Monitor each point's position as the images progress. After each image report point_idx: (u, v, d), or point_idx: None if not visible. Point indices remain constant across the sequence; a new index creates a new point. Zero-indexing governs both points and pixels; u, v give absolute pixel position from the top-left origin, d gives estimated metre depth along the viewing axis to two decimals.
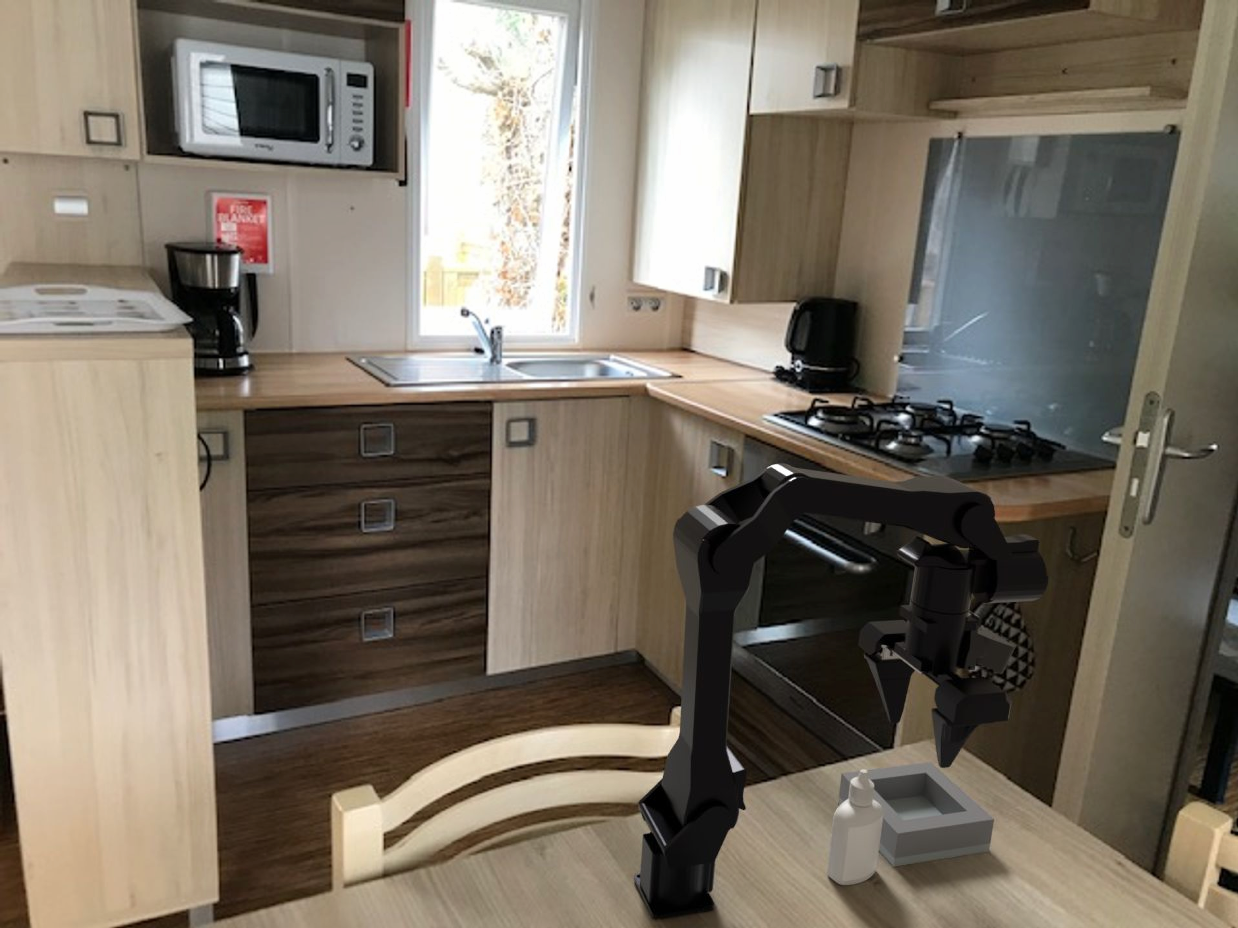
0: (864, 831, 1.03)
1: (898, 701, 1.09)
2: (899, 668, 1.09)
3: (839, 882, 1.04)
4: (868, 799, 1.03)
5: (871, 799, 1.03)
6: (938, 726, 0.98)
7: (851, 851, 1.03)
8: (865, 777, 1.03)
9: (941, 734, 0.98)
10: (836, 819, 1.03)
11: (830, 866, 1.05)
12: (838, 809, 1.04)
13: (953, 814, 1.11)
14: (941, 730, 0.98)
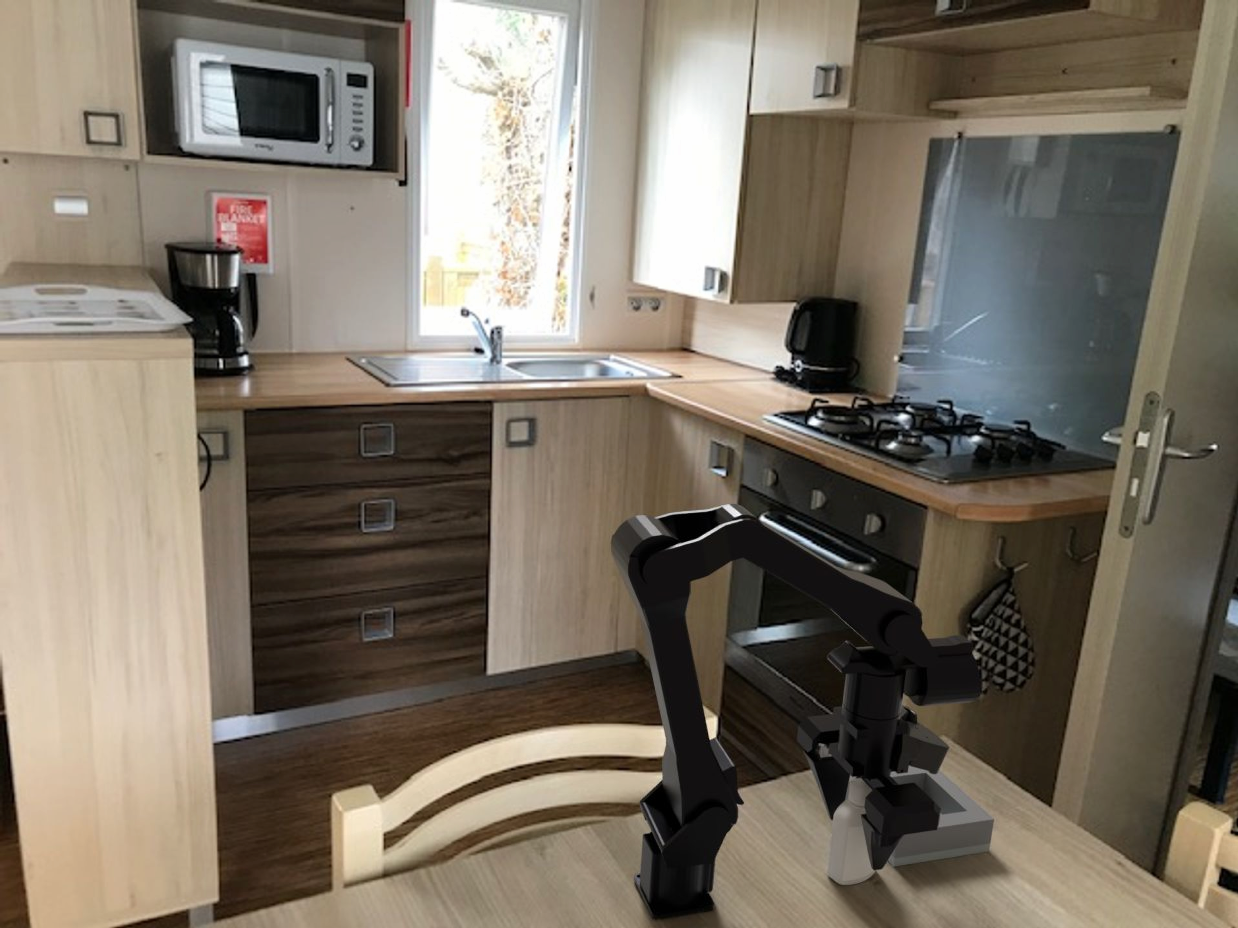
0: None
1: (838, 798, 1.09)
2: (838, 766, 1.08)
3: (839, 882, 1.04)
4: None
5: None
6: (868, 832, 0.98)
7: (851, 851, 1.03)
8: None
9: (870, 840, 0.98)
10: (836, 818, 1.03)
11: (830, 866, 1.05)
12: (838, 809, 1.04)
13: (953, 814, 1.11)
14: (870, 836, 0.98)
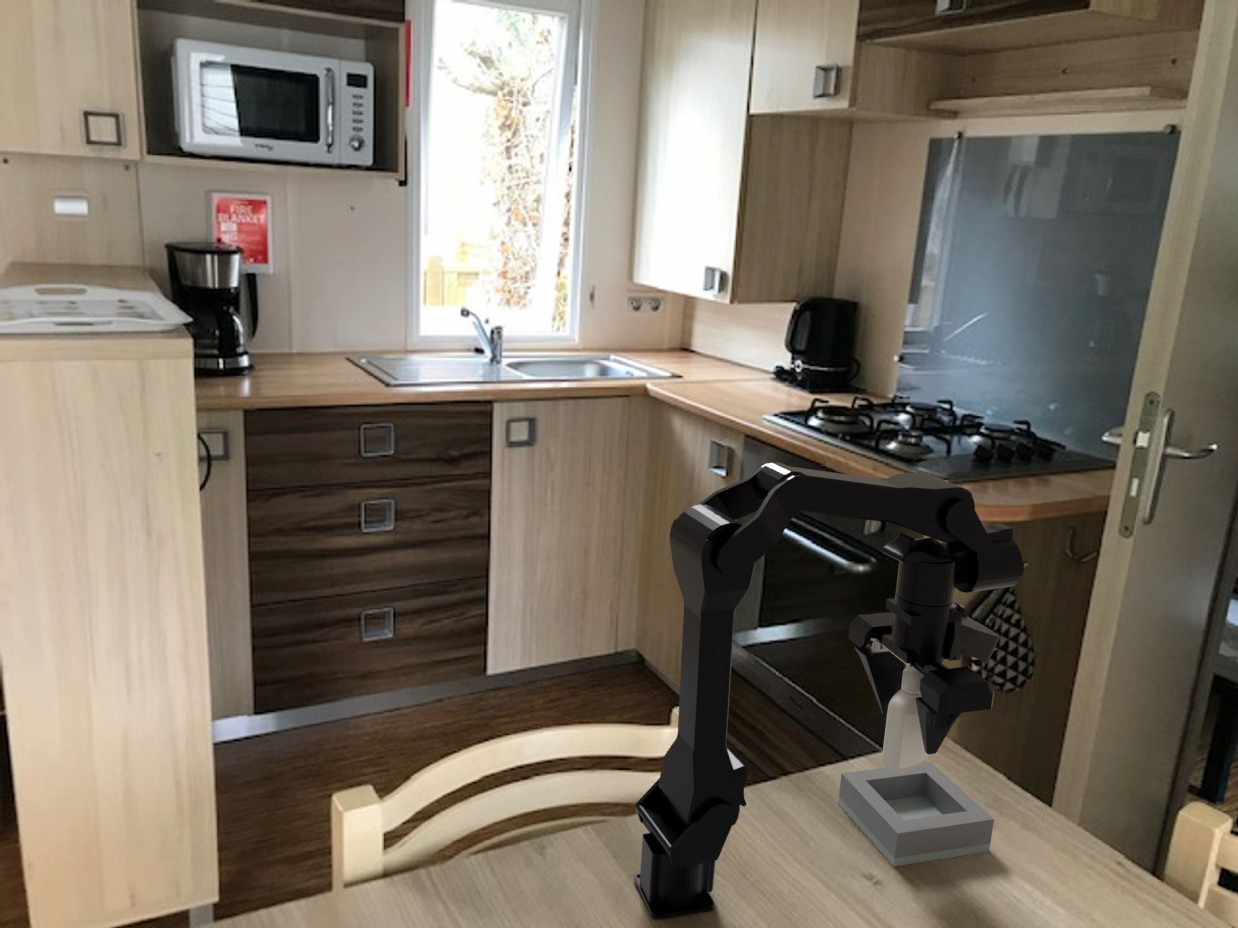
0: None
1: (890, 693, 1.12)
2: (890, 661, 1.11)
3: (896, 770, 1.07)
4: None
5: None
6: (923, 714, 1.01)
7: (907, 738, 1.06)
8: None
9: (925, 722, 1.01)
10: (891, 708, 1.06)
11: (886, 756, 1.08)
12: (892, 699, 1.07)
13: (953, 814, 1.11)
14: (925, 718, 1.01)
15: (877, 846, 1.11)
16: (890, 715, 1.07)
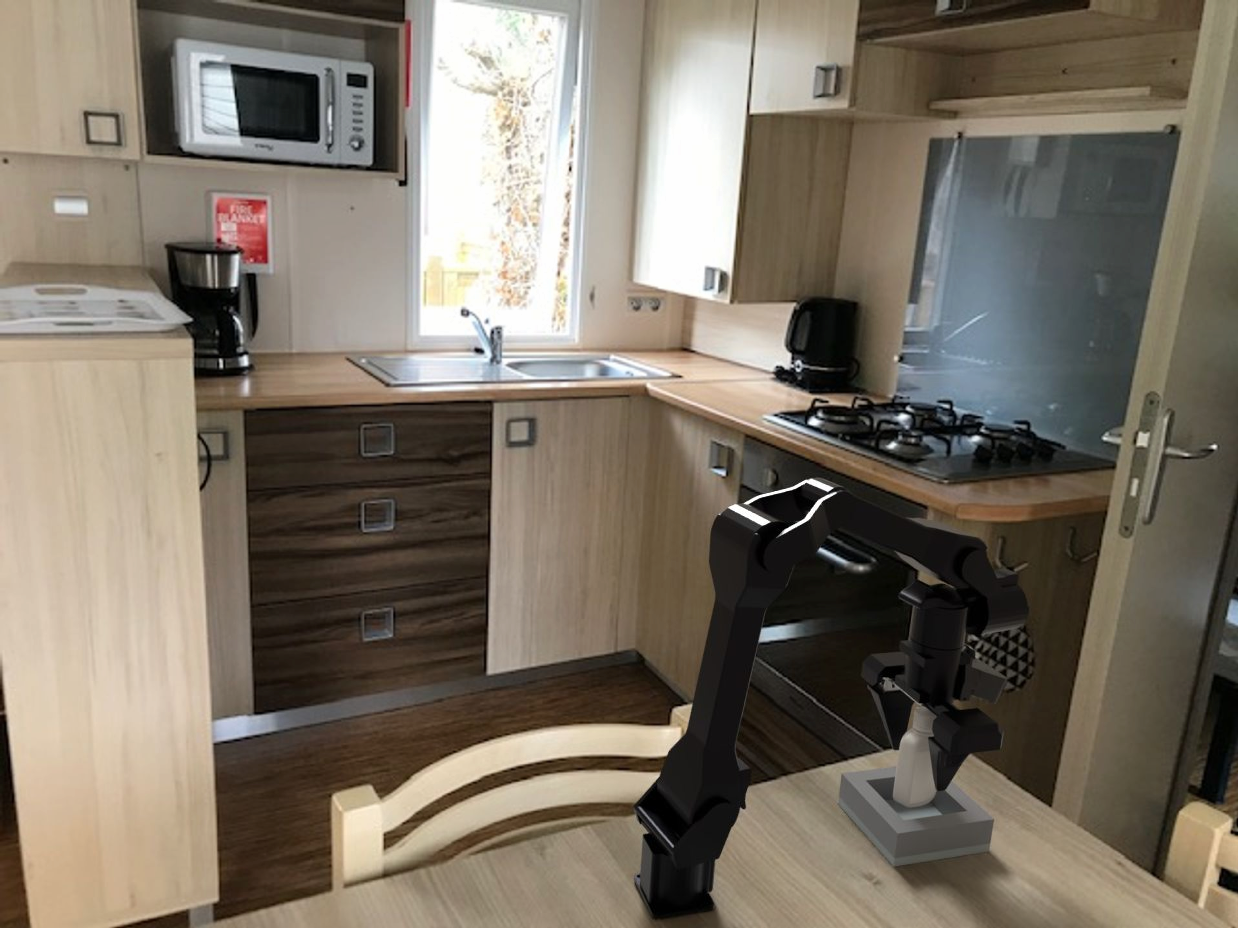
0: (929, 756, 1.11)
1: (900, 730, 1.16)
2: (901, 699, 1.16)
3: (906, 805, 1.12)
4: None
5: None
6: (934, 753, 1.06)
7: (918, 775, 1.11)
8: None
9: (937, 760, 1.06)
10: (903, 745, 1.11)
11: (897, 791, 1.12)
12: (904, 737, 1.11)
13: (953, 814, 1.11)
14: (937, 757, 1.05)
15: (877, 846, 1.11)
16: (902, 752, 1.11)
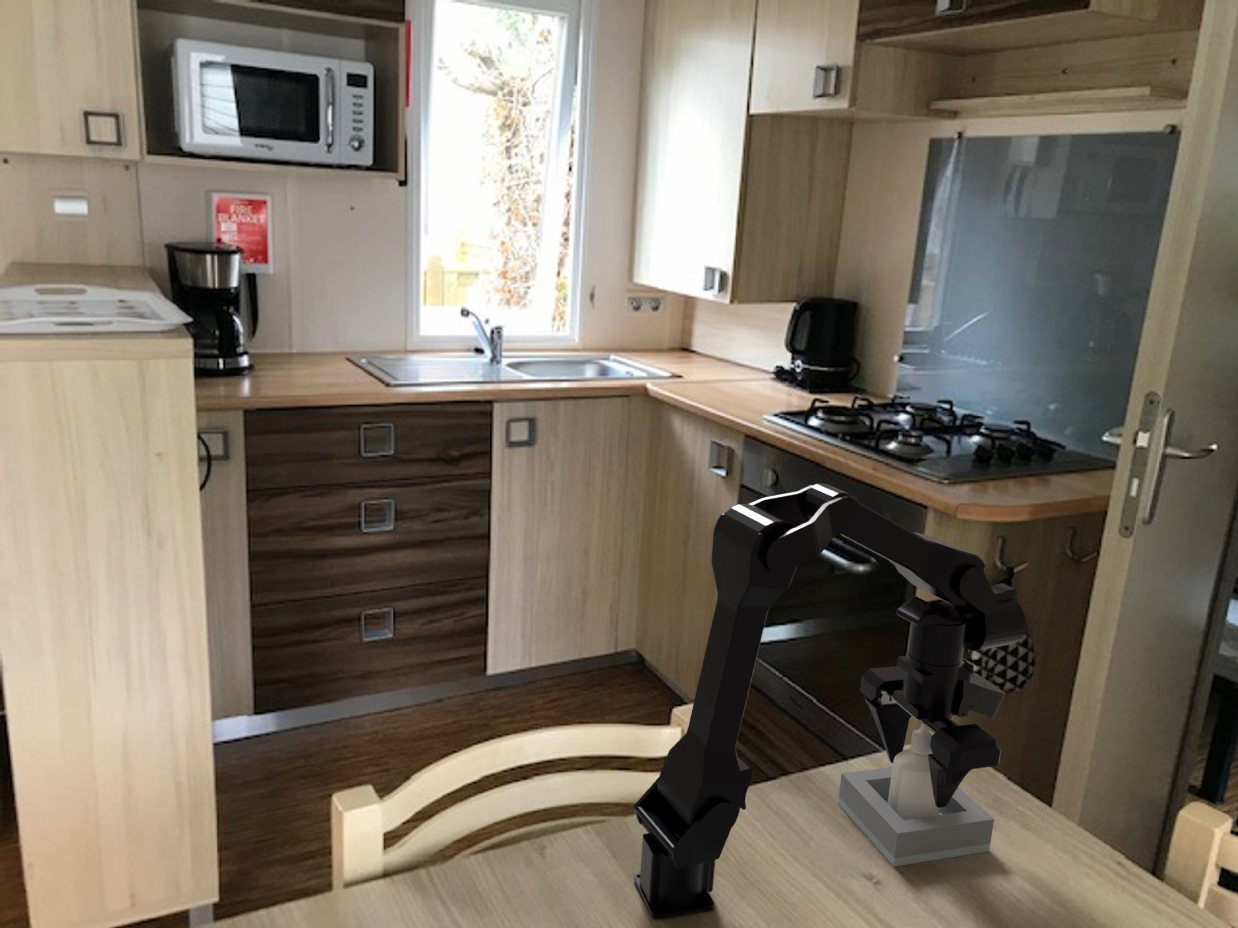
0: (918, 778, 1.12)
1: (898, 743, 1.17)
2: (898, 712, 1.17)
3: None
4: (925, 749, 1.11)
5: (929, 750, 1.11)
6: (934, 770, 1.06)
7: (904, 793, 1.12)
8: (925, 728, 1.12)
9: (937, 778, 1.06)
10: (894, 761, 1.13)
11: None
12: (898, 753, 1.13)
13: (953, 814, 1.11)
14: (937, 774, 1.06)
15: (877, 846, 1.11)
16: (893, 767, 1.13)
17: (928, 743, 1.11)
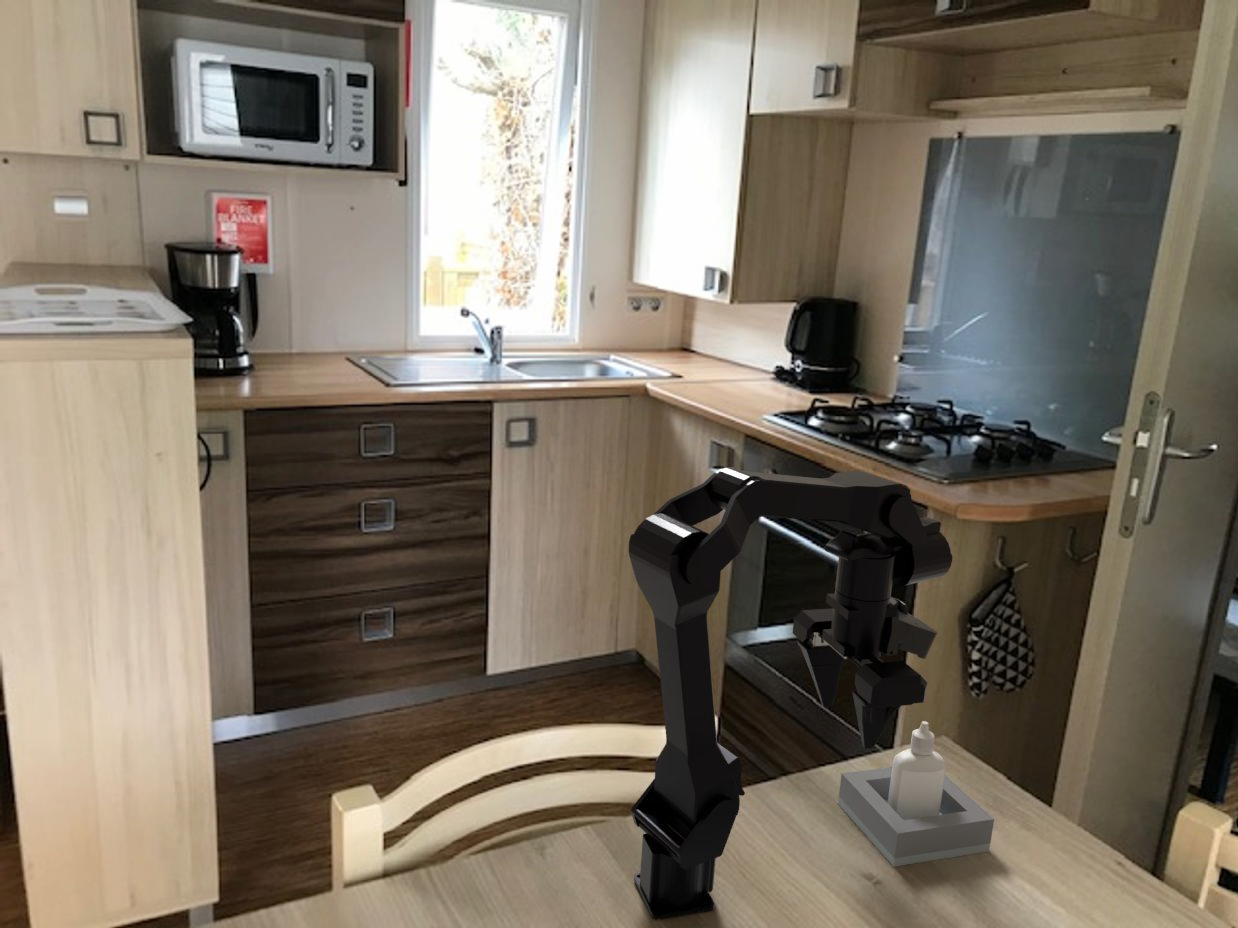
0: (918, 778, 1.12)
1: (830, 686, 1.14)
2: (831, 654, 1.13)
3: None
4: (925, 749, 1.11)
5: (929, 750, 1.11)
6: (859, 708, 1.03)
7: (904, 793, 1.12)
8: (925, 728, 1.12)
9: (861, 716, 1.03)
10: (894, 761, 1.13)
11: None
12: (898, 753, 1.13)
13: (953, 814, 1.11)
14: (861, 712, 1.02)
15: (877, 846, 1.11)
16: (893, 767, 1.13)
17: (928, 743, 1.11)
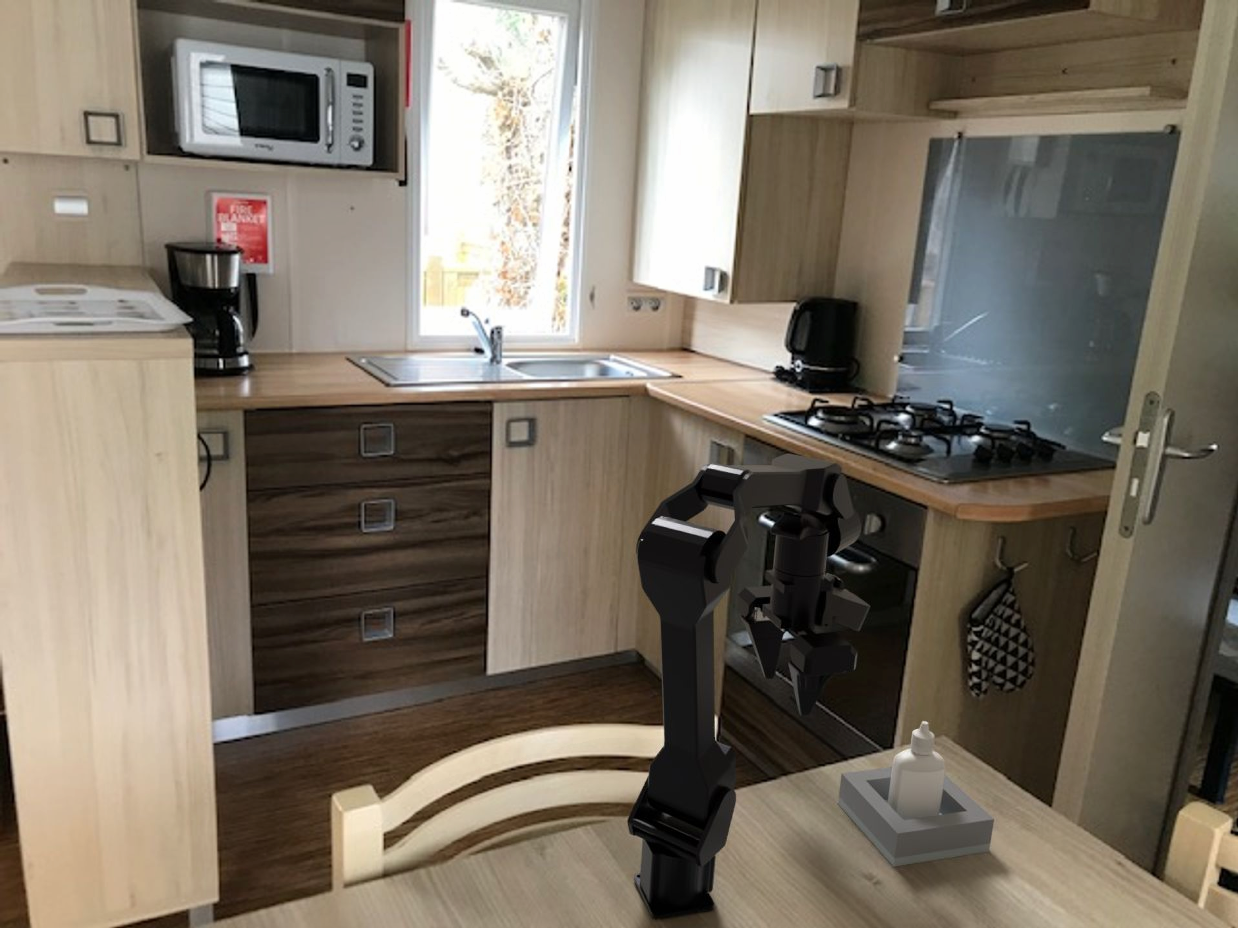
0: (918, 778, 1.12)
1: (772, 659, 1.20)
2: (772, 628, 1.20)
3: None
4: (925, 749, 1.11)
5: (929, 750, 1.11)
6: (794, 676, 1.09)
7: (904, 793, 1.12)
8: (925, 728, 1.12)
9: (797, 684, 1.09)
10: (894, 761, 1.13)
11: None
12: (898, 753, 1.13)
13: (953, 814, 1.11)
14: (796, 680, 1.09)
15: (877, 846, 1.11)
16: (893, 767, 1.13)
17: (928, 743, 1.11)
